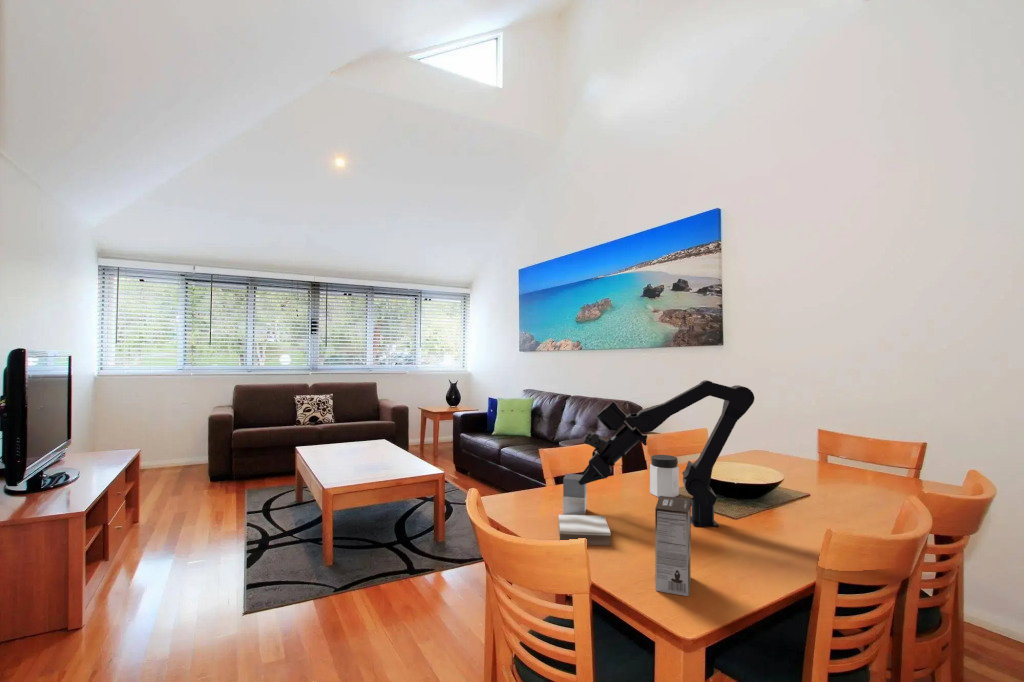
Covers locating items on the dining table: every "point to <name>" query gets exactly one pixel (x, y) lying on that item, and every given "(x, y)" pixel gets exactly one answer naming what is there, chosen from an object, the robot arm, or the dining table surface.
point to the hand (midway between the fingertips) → (581, 479)
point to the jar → (664, 476)
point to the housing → (574, 495)
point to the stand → (585, 529)
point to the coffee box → (673, 545)
